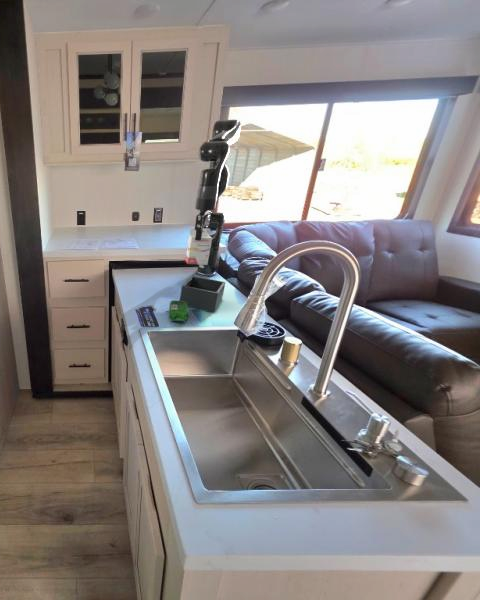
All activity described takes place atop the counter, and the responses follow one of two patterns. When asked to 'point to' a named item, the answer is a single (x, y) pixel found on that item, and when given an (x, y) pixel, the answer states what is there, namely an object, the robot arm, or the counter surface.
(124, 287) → the counter surface
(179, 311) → the snack package
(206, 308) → the waste bin
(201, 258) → the ink cartridge box
